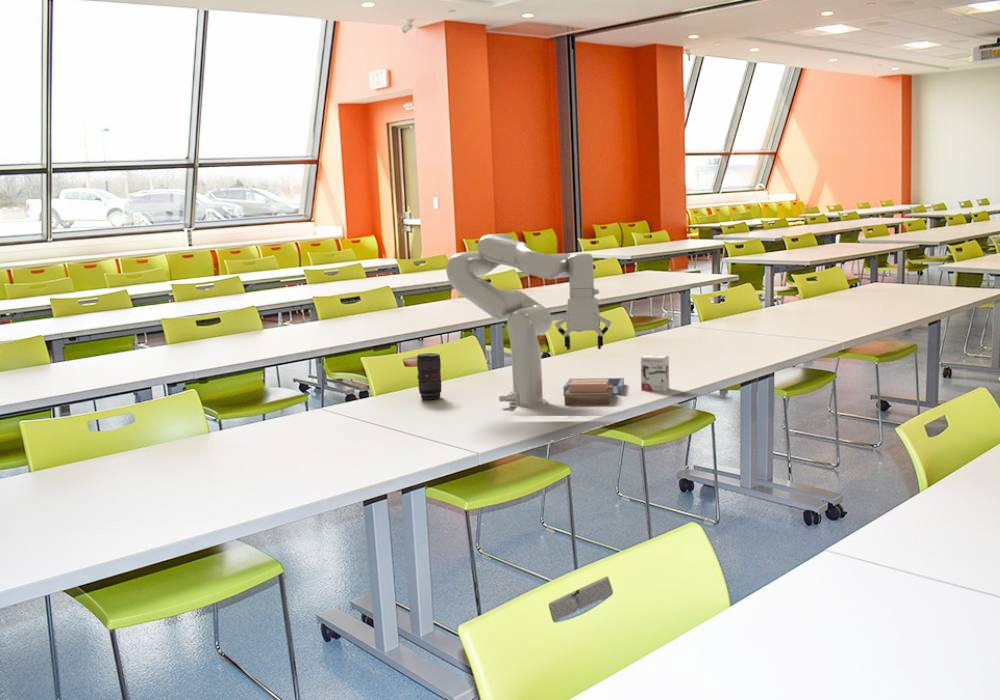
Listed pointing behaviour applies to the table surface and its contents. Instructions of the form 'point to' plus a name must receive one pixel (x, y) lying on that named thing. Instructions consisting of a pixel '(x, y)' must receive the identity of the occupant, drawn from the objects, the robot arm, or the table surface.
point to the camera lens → (429, 375)
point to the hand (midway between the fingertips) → (584, 348)
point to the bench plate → (589, 397)
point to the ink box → (655, 373)
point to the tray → (612, 381)
